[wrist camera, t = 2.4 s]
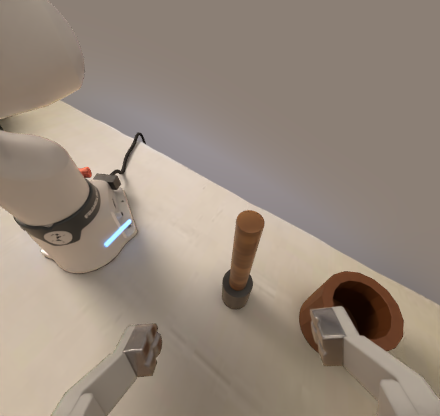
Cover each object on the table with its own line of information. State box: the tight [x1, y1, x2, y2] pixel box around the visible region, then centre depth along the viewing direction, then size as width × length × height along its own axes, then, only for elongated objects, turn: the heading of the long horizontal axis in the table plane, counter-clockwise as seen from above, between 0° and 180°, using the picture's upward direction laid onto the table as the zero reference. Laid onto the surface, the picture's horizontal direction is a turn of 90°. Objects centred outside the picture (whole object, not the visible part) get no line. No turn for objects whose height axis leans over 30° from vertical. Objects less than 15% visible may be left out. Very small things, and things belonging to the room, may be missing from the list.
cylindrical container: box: [299, 271, 404, 353], centre depth 34 cm, size 10×10×11 cm
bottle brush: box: [222, 210, 264, 309], centre depth 32 cm, size 5×5×24 cm
